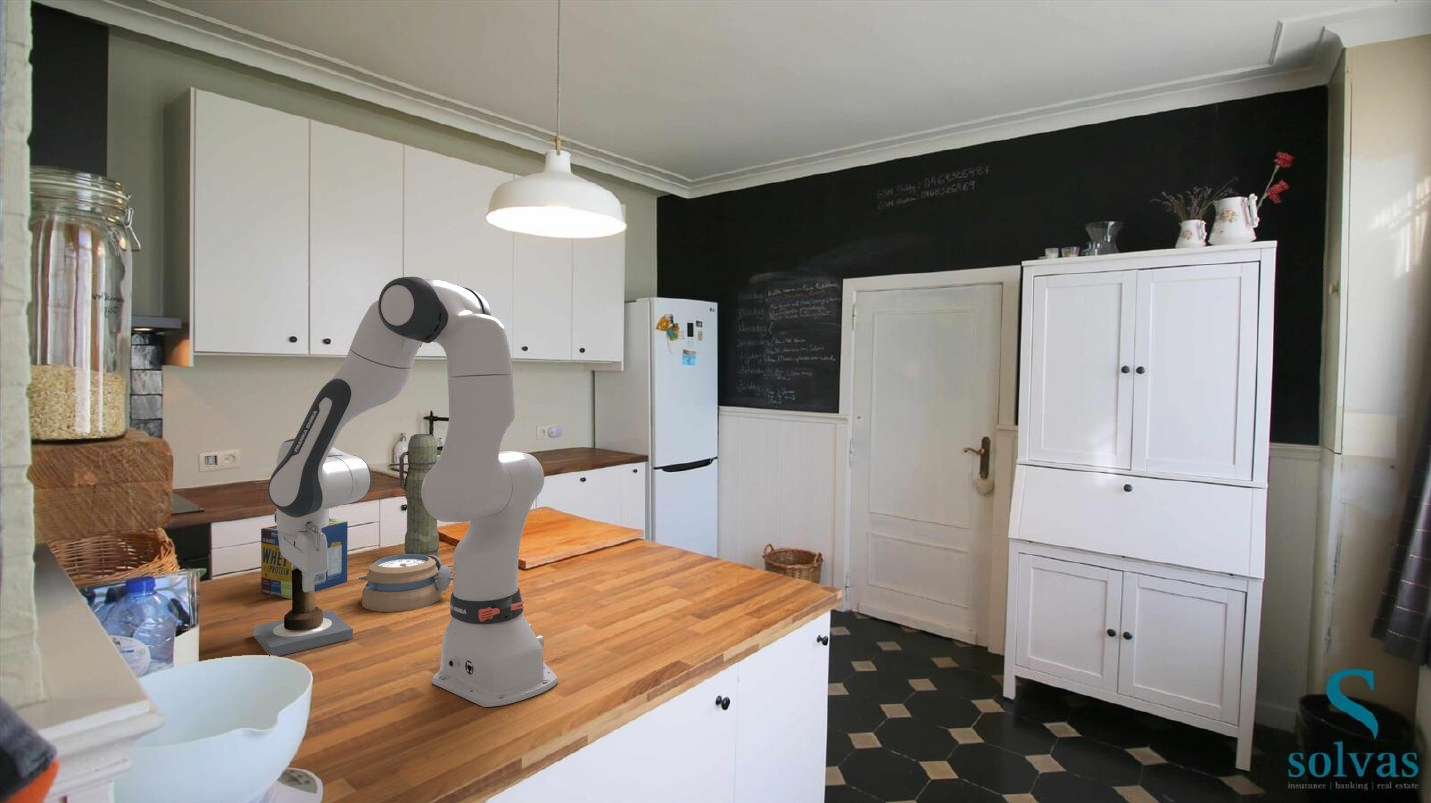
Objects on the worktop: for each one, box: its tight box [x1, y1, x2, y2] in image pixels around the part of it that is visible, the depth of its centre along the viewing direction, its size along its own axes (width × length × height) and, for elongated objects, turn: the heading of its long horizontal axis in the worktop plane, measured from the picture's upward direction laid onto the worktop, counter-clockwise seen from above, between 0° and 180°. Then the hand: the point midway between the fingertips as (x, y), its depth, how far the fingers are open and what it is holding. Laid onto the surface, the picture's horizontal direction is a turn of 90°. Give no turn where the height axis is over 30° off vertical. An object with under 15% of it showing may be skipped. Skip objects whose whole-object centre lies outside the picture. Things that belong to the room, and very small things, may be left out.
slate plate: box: [252, 609, 354, 657], centre depth 137 cm, size 14×14×2 cm
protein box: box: [260, 518, 349, 600], centre depth 167 cm, size 10×15×16 cm
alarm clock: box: [358, 553, 454, 613], centre depth 163 cm, size 17×9×23 cm
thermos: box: [398, 433, 442, 558], centre depth 194 cm, size 9×12×35 cm
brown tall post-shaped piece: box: [283, 541, 324, 630], centre depth 137 cm, size 7×6×18 cm
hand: (303, 587), depth 137 cm, fingers closed on brown tall post-shaped piece, 4 cm apart
